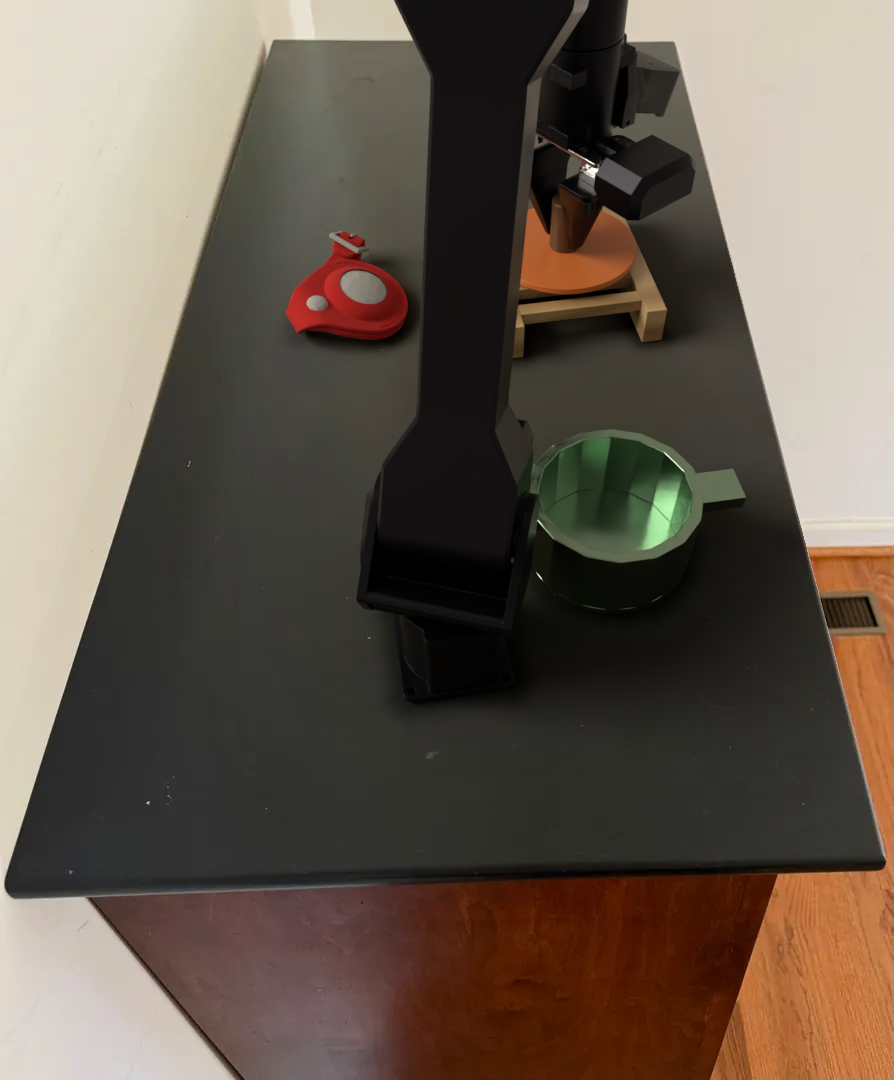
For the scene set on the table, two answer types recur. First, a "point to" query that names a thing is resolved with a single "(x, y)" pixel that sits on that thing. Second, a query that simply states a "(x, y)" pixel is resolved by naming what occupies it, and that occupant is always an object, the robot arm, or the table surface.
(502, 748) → the table surface
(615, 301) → the rack
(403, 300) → the tracker holder
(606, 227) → the lid
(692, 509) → the pot
